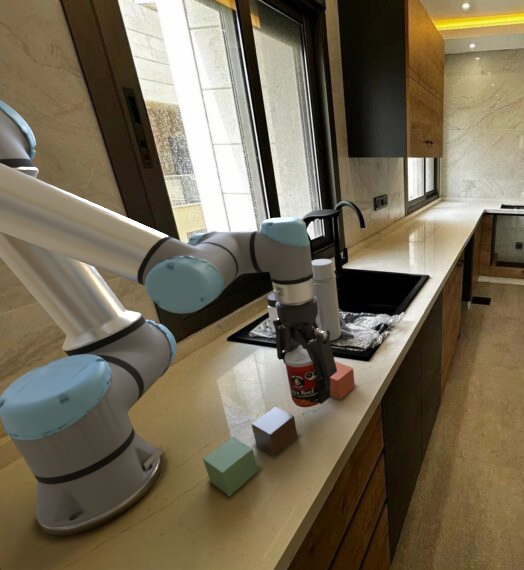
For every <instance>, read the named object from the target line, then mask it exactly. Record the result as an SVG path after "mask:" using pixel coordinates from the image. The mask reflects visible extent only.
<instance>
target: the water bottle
mask: <svg viewBox="0 0 524 570" xmlns="http://www.w3.org/2000/svg"><path fill="white" fill-rule="evenodd" d="M311 261H312V269H313V276H314V283H315V289H316V295H315V297H316V299H317V306H318V314H317V317H316V323H317V325H318V328H319V329H320V330H322V331H325V330H326V329H327V330H329V331H330V342H332V341H335V340H338V339H339V338H340V337H341V335H342V329H341V318H340V310H339V300H338V298H339V297H338V289H337V288H338V287H337V279H336V278H337V275H336V273H335V269H334V263H333V260H332V259H329V258H319V259H317V258H316V259H313V260H311Z"/></svg>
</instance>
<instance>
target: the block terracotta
mask: <svg viewBox="0 0 524 570" xmlns="http://www.w3.org/2000/svg"><path fill="white" fill-rule="evenodd" d="M335 364H336V368H337V372H336V373H335V374H334V375H332V376H331V377H330V383H331V386H330V395H331V397H332V398H335V399H337V400H341V399H343V397H345V396H347V394H348V393H350V392H351V390H353V389H354V388H355V387H356V384H355V383H356V381H355V371H354V367H351V366H348V365H346V364H343V363H340V362H338V361H335Z"/></svg>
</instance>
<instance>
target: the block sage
mask: <svg viewBox="0 0 524 570" xmlns="http://www.w3.org/2000/svg"><path fill="white" fill-rule="evenodd" d="M202 460H203V463H204V467H205V469H206V470H205V471H206V472H207V476H208V479H209V483H211V484H212V485H214V486H215V487H216V488H218V489H219V490H220V491H221V492H222V493H224V494H226V495H227V496H229V497H231V496H232V495H233V494H234V493H235V492H236V491H237V490H239V488H241V487H242V486H243V485H245V483H247V482H248V481H249V480H250V479H251V478H252V477H253V476H254V475H256V474H257V473H258V472H259V469H258V464H257V460H256V456H255V452H254V448H252V447H251V446H250V445H247V444H246V443H244V442H243V441H241V440H240V439H238V438H236V437H234V436H233V437H231V438H230V439H229V440H227V441H226V442H224V443H223V444H222V445H220V446H219V447H217V448H216V449H214V450H213V451H212V452H211V453H209V454H208V455H207V456H205V457H204V458H203V459H202Z"/></svg>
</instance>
